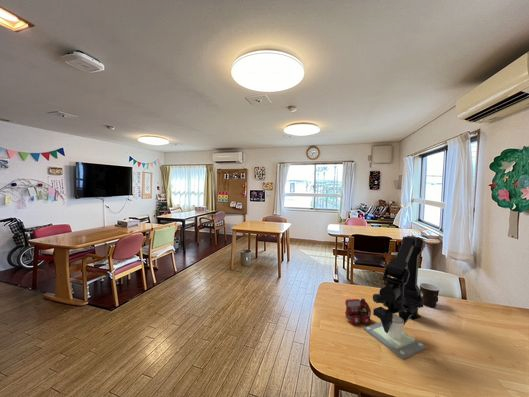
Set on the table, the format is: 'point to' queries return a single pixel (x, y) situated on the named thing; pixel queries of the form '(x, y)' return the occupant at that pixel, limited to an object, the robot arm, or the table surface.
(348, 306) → the toy fire truck
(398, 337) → the shot glass
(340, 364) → the table surface
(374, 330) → the baseplate
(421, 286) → the coffee mug
